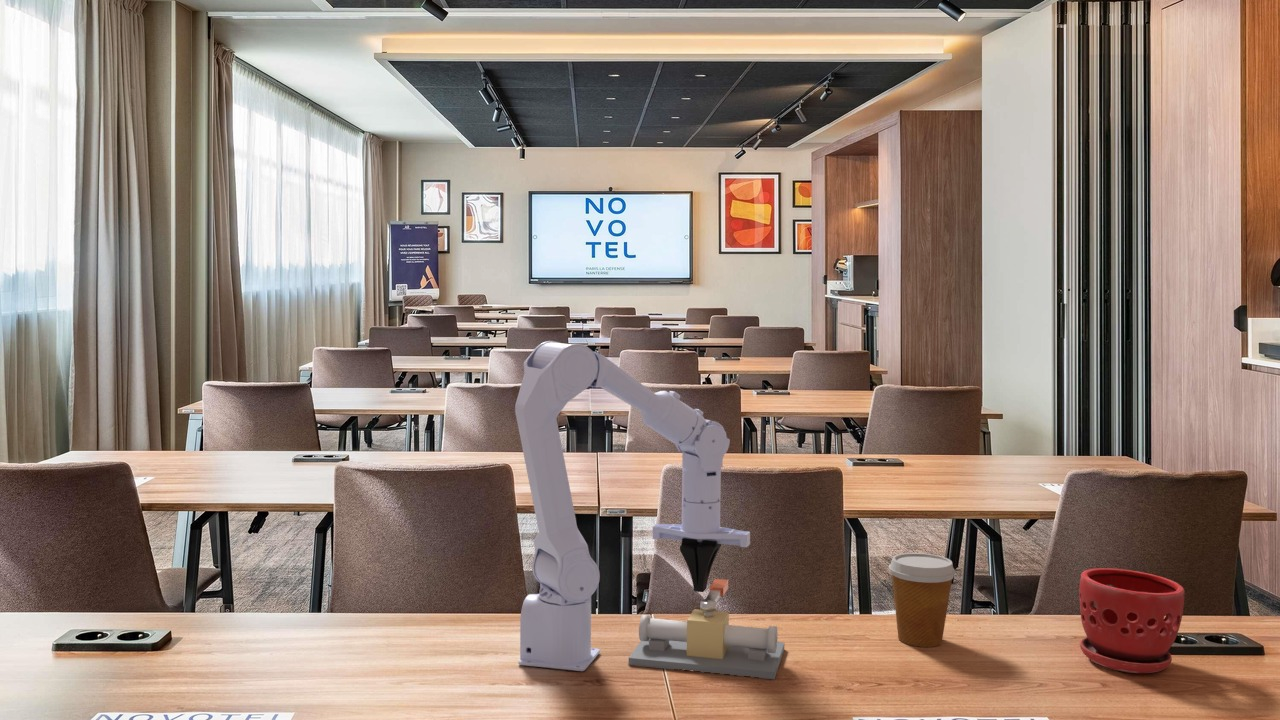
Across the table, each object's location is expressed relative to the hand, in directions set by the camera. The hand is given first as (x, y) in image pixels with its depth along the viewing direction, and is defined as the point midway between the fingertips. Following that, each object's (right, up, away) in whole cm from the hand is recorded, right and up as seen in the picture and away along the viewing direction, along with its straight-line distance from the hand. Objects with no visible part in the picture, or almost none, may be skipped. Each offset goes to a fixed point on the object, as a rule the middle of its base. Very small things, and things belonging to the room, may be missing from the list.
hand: (700, 590), depth 153 cm
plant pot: (+59, -8, -9) cm, 61 cm away
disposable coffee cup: (+33, -8, -1) cm, 33 cm away
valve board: (+1, -8, -9) cm, 12 cm away
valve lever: (+2, 0, -5) cm, 5 cm away
